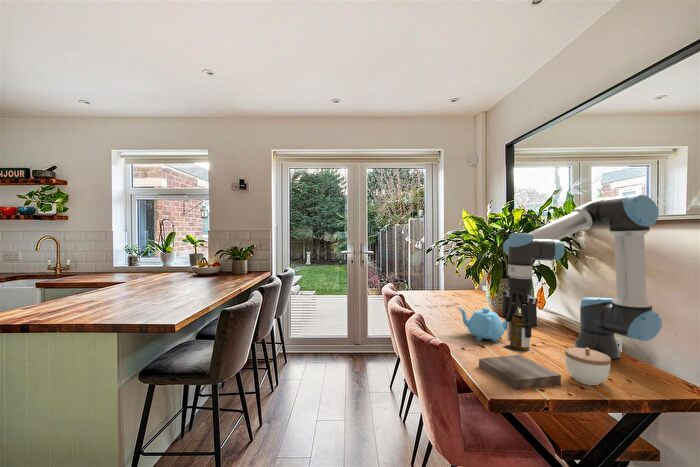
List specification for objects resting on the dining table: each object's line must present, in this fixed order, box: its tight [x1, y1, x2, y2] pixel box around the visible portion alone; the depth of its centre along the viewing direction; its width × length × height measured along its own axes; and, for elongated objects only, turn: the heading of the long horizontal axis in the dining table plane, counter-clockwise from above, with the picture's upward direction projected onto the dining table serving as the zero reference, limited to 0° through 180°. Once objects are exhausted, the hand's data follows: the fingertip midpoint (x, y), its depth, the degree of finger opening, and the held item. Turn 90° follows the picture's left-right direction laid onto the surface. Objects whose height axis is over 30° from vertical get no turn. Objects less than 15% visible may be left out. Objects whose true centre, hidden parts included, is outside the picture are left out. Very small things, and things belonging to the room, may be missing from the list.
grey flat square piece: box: [478, 354, 562, 391], centre depth 114 cm, size 18×18×3 cm
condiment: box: [501, 312, 536, 355], centre depth 114 cm, size 7×8×12 cm
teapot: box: [457, 307, 507, 343], centre depth 153 cm, size 16×20×14 cm
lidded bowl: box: [564, 347, 612, 386], centre depth 110 cm, size 13×13×11 cm
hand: (517, 343), depth 114 cm, fingers closed on condiment, 6 cm apart
